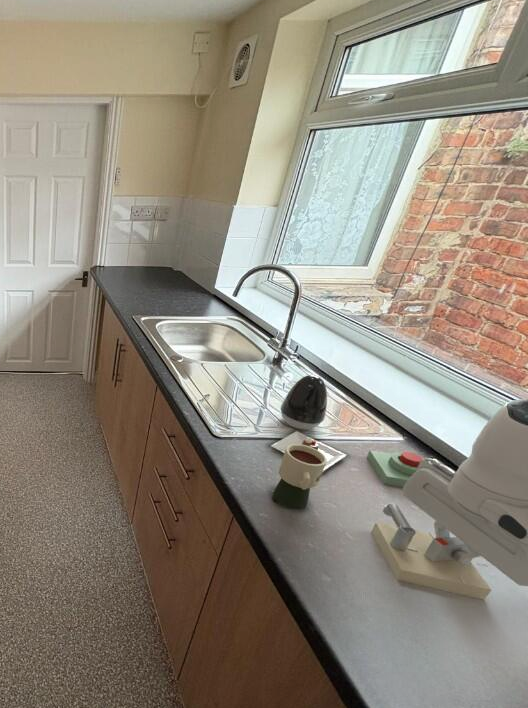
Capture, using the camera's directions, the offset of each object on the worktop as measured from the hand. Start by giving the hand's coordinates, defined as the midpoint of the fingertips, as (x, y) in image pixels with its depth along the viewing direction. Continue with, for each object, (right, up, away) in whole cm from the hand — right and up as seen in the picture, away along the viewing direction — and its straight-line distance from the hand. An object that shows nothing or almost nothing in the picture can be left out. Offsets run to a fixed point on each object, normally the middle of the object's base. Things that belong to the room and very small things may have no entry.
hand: (450, 553), depth 72 cm
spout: (-6, +1, +5) cm, 8 cm away
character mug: (-17, +3, +18) cm, 25 cm away
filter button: (+15, +11, +23) cm, 29 cm away
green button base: (+15, +8, +24) cm, 30 cm away
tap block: (-1, -4, +3) cm, 5 cm away
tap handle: (0, -1, +1) cm, 1 cm away
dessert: (-3, +11, +32) cm, 34 cm away
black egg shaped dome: (+3, +17, +43) cm, 47 cm away
